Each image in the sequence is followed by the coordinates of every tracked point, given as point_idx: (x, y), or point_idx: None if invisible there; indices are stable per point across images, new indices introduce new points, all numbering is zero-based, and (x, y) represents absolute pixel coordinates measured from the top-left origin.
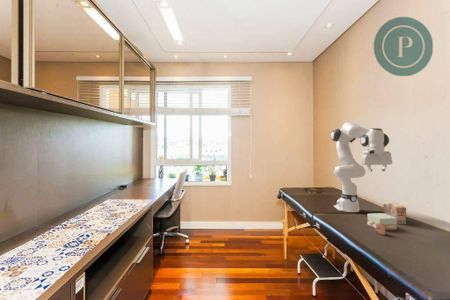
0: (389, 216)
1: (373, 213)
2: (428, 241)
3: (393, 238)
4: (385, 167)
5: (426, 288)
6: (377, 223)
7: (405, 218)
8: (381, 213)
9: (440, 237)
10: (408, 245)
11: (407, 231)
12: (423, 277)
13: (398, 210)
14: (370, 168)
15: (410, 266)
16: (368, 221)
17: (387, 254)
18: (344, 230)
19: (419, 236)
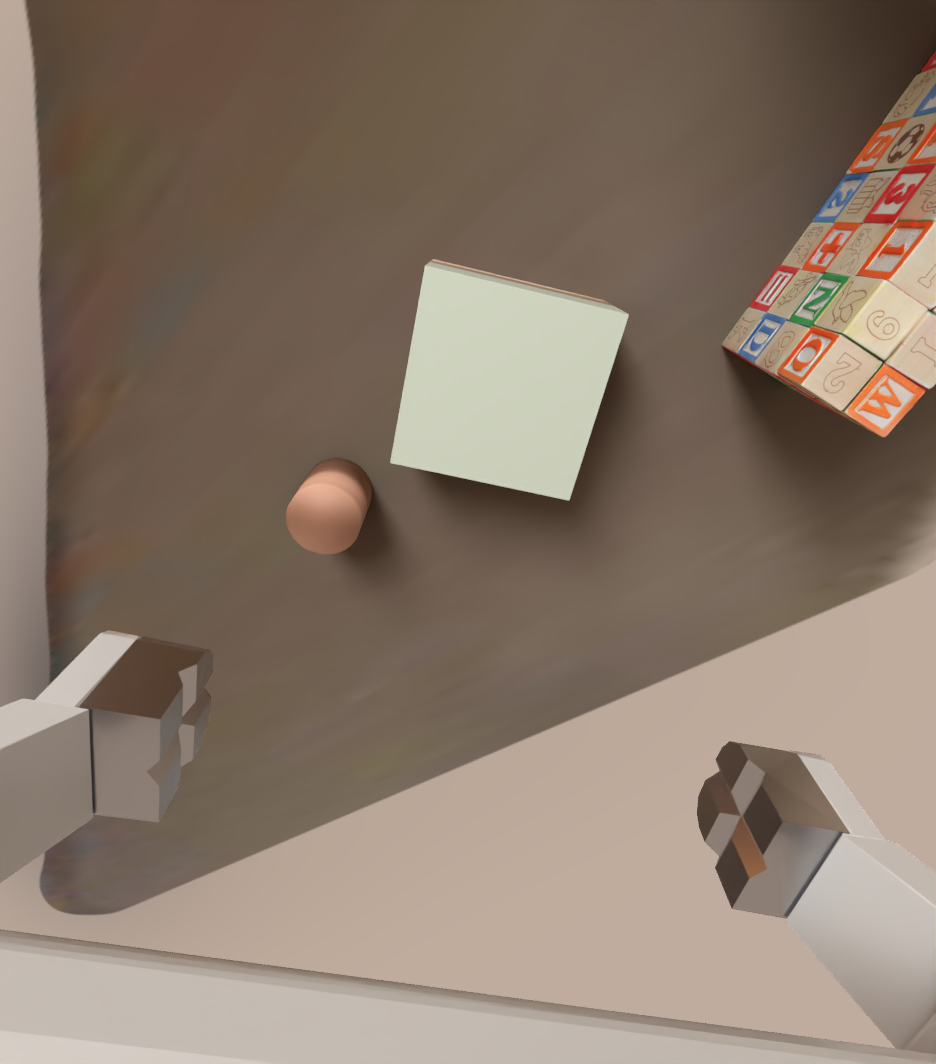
0: (561, 436)
1: (501, 285)
2: (524, 671)
3: (353, 580)
4: (862, 996)
5: (69, 892)
6: (317, 496)
7: (810, 398)
8: (593, 318)
9: (675, 654)
10: (344, 674)
11: (592, 517)
12: (120, 858)
13: (798, 385)
14: (23, 835)
15: None
16: None
17: None
18: (85, 335)
19: (564, 606)
